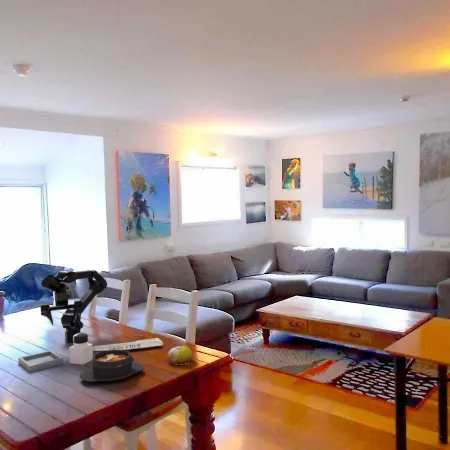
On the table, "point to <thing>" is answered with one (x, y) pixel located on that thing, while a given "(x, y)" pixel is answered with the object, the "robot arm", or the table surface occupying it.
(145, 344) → the newspaper
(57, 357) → the tray
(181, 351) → the fruit
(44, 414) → the table surface
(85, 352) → the medicine bottle
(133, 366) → the casserole
